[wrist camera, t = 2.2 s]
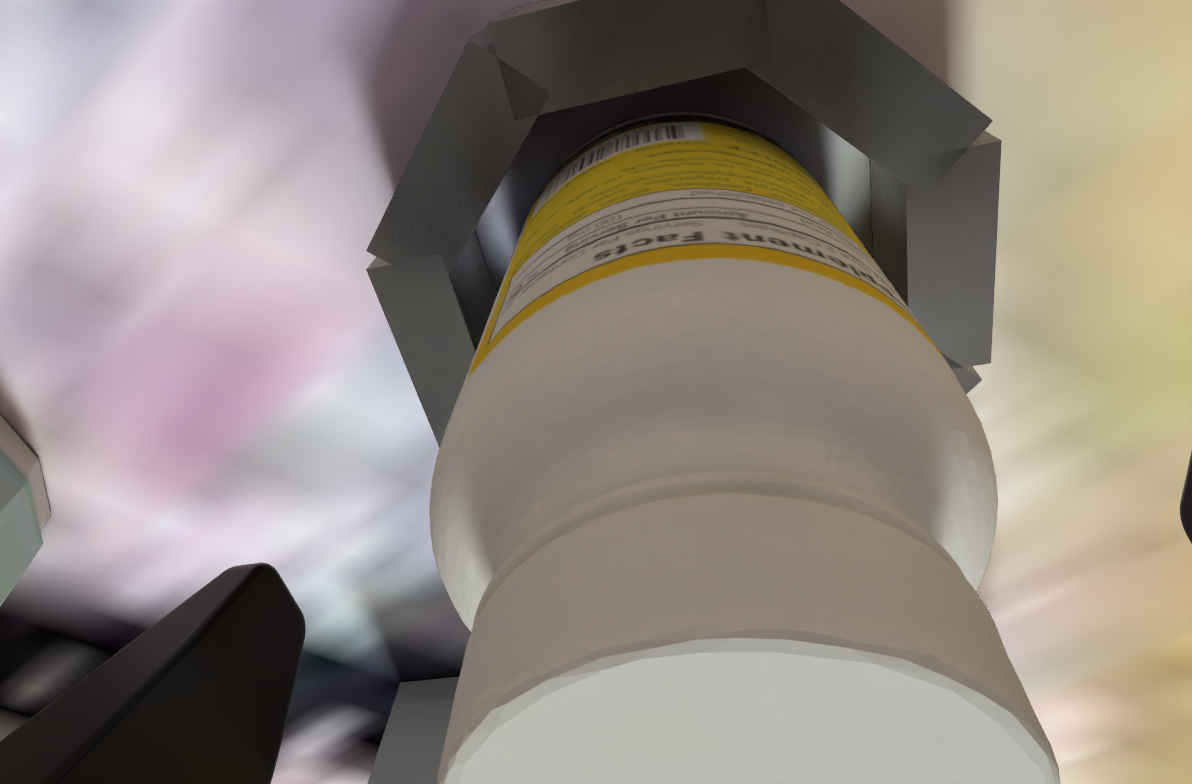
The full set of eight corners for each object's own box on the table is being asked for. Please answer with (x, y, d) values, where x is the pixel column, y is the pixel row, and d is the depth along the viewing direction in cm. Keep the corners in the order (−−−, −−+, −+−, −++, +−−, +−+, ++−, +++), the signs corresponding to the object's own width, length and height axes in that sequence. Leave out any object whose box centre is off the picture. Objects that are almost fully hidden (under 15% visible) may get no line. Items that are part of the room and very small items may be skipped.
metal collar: (504, 498, 16) (488, 565, 14) (339, 53, 12) (285, 74, 10) (945, 435, 15) (983, 502, 13) (952, -105, 10) (1013, -111, 8)
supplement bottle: (737, 435, 15) (849, 1071, 7) (481, 331, 14) (240, 917, 6) (901, 190, 12) (1442, 749, 4) (596, 41, 11) (456, 357, 3)
